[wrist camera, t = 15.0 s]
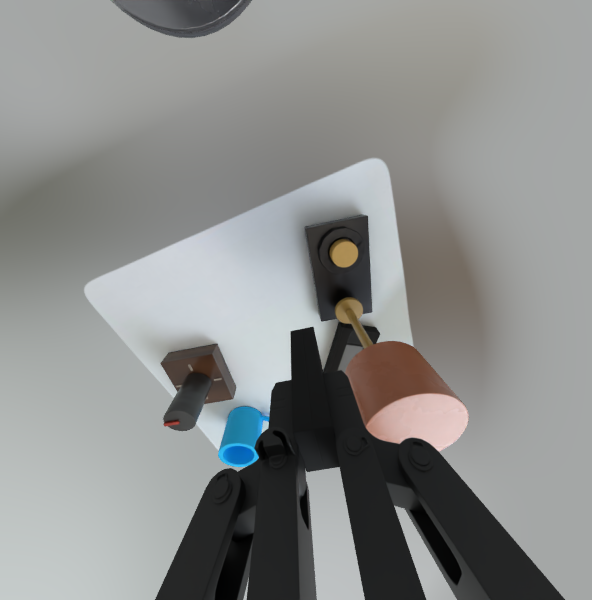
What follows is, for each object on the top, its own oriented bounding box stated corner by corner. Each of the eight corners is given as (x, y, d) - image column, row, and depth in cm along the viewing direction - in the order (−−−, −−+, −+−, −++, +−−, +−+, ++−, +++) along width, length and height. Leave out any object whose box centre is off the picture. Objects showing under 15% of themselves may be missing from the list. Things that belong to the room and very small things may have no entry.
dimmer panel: (168, 352, 42) (159, 363, 39) (217, 343, 41) (212, 354, 38) (192, 395, 47) (186, 407, 44) (236, 387, 46) (233, 399, 43)
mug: (235, 431, 52) (227, 469, 45) (223, 410, 49) (211, 447, 42) (282, 422, 52) (281, 459, 44) (272, 400, 48) (269, 436, 41)
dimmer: (206, 370, 40) (187, 409, 32) (215, 389, 42) (199, 430, 34) (181, 375, 40) (156, 415, 33) (191, 393, 42) (170, 435, 35)
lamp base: (304, 226, 32) (306, 230, 29) (363, 214, 32) (372, 216, 28) (319, 315, 39) (322, 327, 36) (367, 306, 39) (376, 317, 35)
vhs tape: (376, 327, 41) (380, 333, 39) (354, 381, 47) (357, 388, 45) (338, 321, 40) (341, 327, 38) (321, 377, 46) (322, 385, 44)
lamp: (320, 292, 33) (359, 403, 15) (371, 282, 32) (477, 384, 14) (326, 334, 36) (365, 467, 18) (373, 325, 36) (461, 452, 18)
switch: (327, 241, 30) (330, 244, 28) (353, 236, 30) (357, 238, 28) (330, 265, 31) (333, 269, 30) (354, 261, 31) (359, 264, 29)
